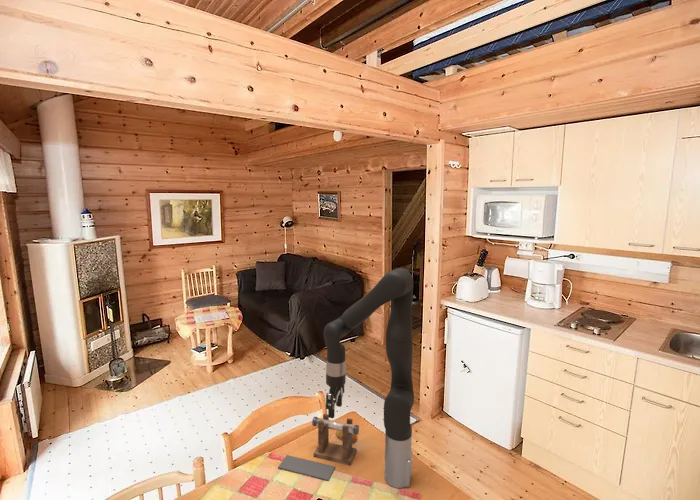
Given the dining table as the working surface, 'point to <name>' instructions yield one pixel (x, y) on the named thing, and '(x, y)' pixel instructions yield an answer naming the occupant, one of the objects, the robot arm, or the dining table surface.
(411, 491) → the dining table surface
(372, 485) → the dining table surface
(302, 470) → the mat
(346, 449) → the rack
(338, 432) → the pastry
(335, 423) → the capped glass tube
